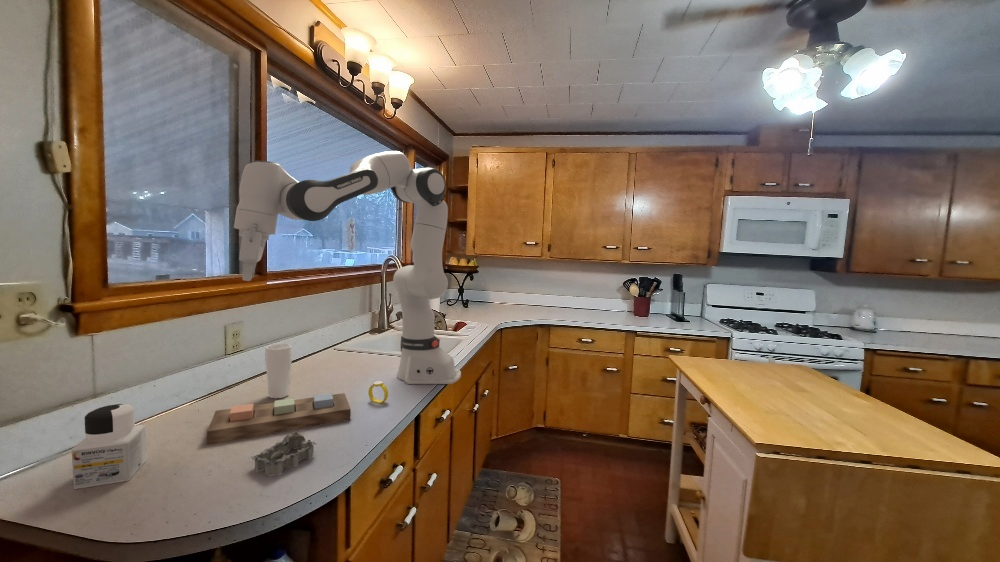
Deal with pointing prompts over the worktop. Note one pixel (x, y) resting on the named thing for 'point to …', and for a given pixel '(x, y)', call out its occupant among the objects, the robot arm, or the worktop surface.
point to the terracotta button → (242, 412)
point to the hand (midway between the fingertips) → (247, 279)
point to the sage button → (284, 406)
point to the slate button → (323, 401)
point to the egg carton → (283, 454)
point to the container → (109, 447)
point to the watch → (380, 383)
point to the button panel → (277, 419)
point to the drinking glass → (278, 369)
